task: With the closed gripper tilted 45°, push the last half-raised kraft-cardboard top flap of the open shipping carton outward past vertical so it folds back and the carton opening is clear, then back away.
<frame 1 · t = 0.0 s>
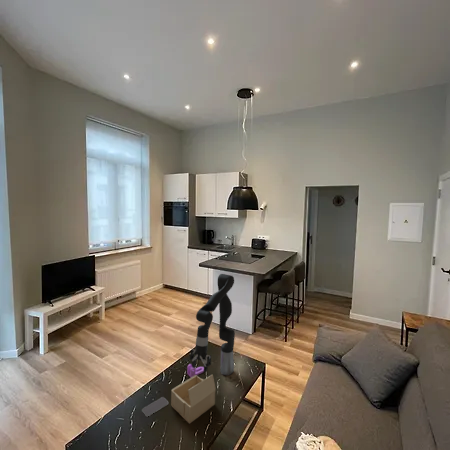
hand: (199, 369, 157), 22 cm above the table, tool pointing down, fingers open, 8 cm apart
bracket: (196, 372, 188), on the table
flap: (202, 389, 150), point 15 cm above the table, hinge at 70.0°
carton: (193, 405, 157), on the table
smartphone: (155, 407, 155), on the table
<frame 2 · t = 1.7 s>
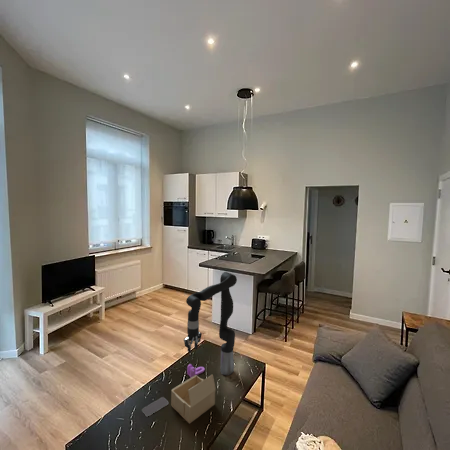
hand: (192, 350, 168), 27 cm above the table, tool pointing down, fingers open, 5 cm apart
nothing on the table moved.
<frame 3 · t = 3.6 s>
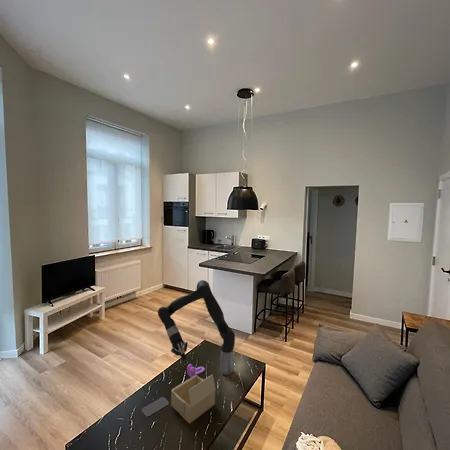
hand: (184, 360, 161), 25 cm above the table, tool tilted 45°, fingers closed
nothing on the table moved.
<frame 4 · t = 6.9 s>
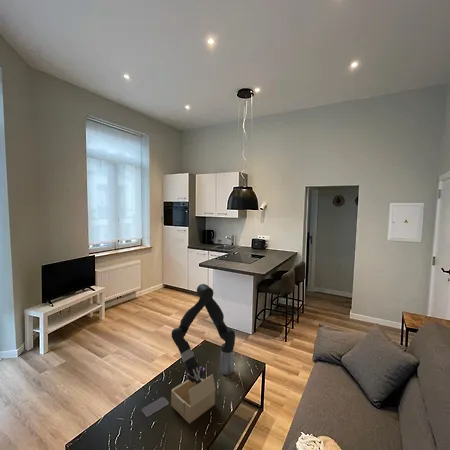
hand: (201, 387, 151), 16 cm above the table, tool tilted 45°, fingers closed
flap: (202, 389, 150), point 15 cm above the table, hinge at 70.4°, touching gripper
everything else where it was.
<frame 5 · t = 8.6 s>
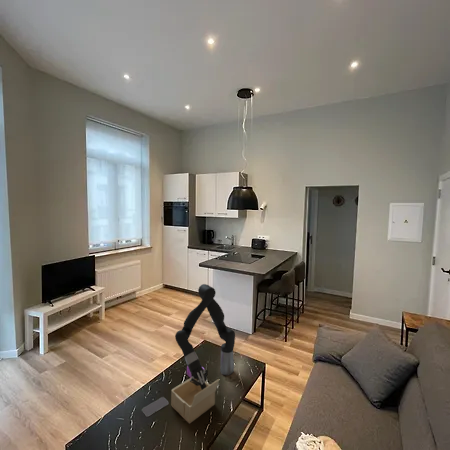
hand: (205, 390, 148), 16 cm above the table, tool tilted 45°, fingers closed
flap: (205, 392, 148), point 15 cm above the table, hinge at 107.4°, touching gripper
everything else where it was.
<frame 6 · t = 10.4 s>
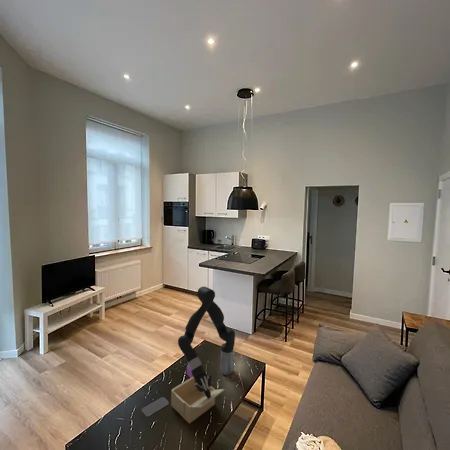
hand: (209, 397, 146), 14 cm above the table, tool tilted 45°, fingers closed
flap: (208, 398, 147), point 12 cm above the table, hinge at 148.5°
everything else where it was.
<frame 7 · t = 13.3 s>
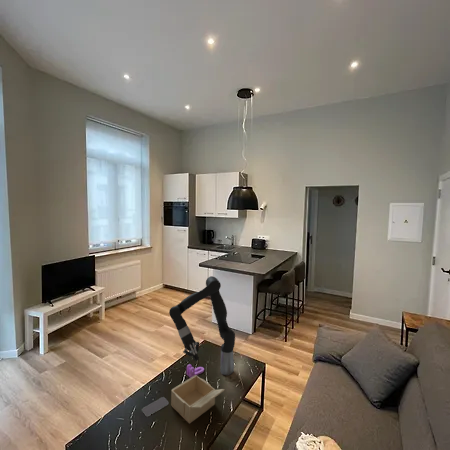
hand: (197, 360, 163), 24 cm above the table, tool tilted 35°, fingers closed
nothing on the table moved.
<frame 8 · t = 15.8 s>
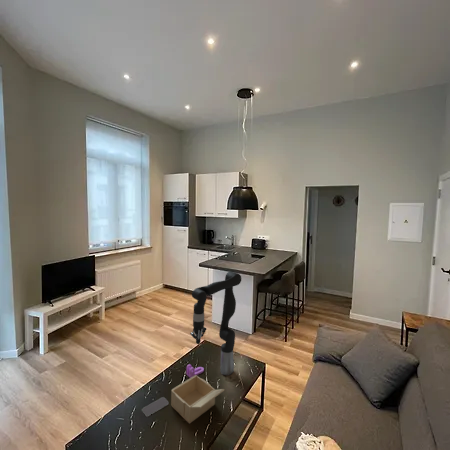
hand: (198, 343, 170), 31 cm above the table, tool pointing down, fingers closed
nothing on the table moved.
at the end: flap at +149° (first picture: +70°); bracket moved 0.8 cm from its start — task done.
